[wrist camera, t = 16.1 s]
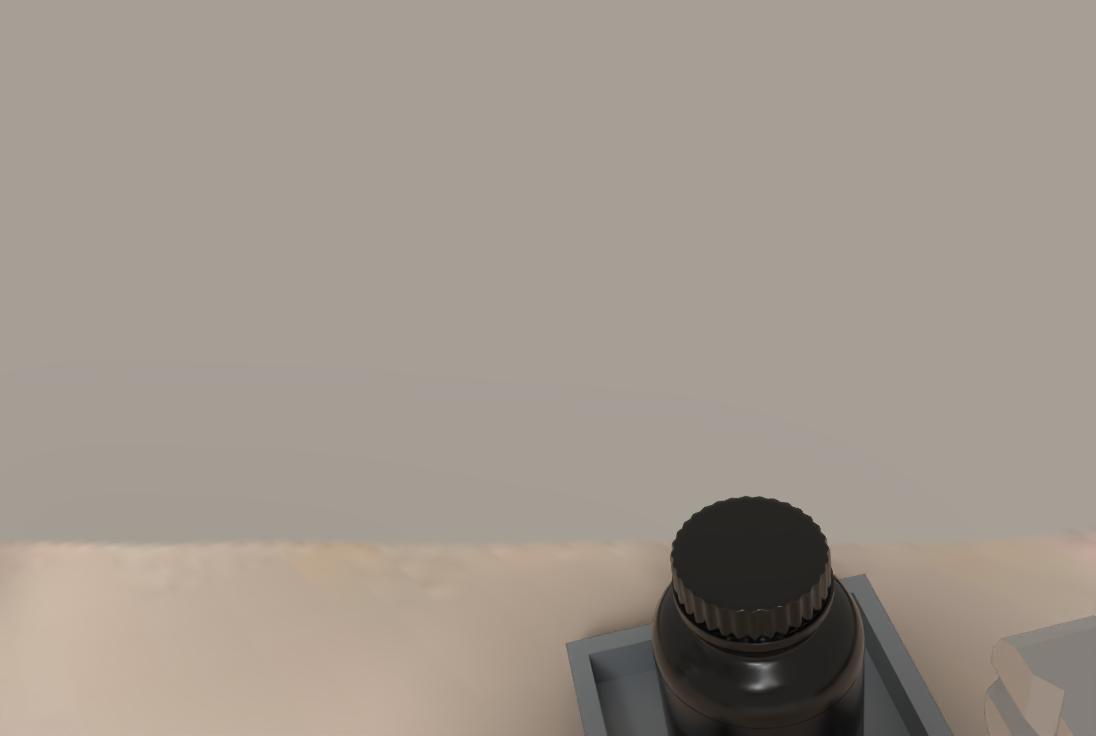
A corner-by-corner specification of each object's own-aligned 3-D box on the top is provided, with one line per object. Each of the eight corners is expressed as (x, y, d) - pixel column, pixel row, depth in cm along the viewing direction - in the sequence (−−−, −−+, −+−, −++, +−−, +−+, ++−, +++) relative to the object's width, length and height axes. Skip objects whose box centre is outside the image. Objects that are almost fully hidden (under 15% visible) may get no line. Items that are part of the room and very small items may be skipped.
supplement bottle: (663, 707, 42) (627, 486, 35) (835, 684, 41) (833, 455, 34) (688, 876, 36) (651, 652, 29) (887, 851, 36) (898, 618, 29)
